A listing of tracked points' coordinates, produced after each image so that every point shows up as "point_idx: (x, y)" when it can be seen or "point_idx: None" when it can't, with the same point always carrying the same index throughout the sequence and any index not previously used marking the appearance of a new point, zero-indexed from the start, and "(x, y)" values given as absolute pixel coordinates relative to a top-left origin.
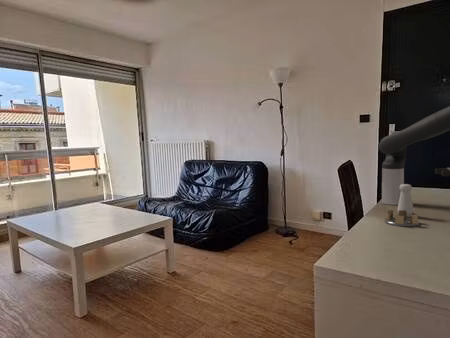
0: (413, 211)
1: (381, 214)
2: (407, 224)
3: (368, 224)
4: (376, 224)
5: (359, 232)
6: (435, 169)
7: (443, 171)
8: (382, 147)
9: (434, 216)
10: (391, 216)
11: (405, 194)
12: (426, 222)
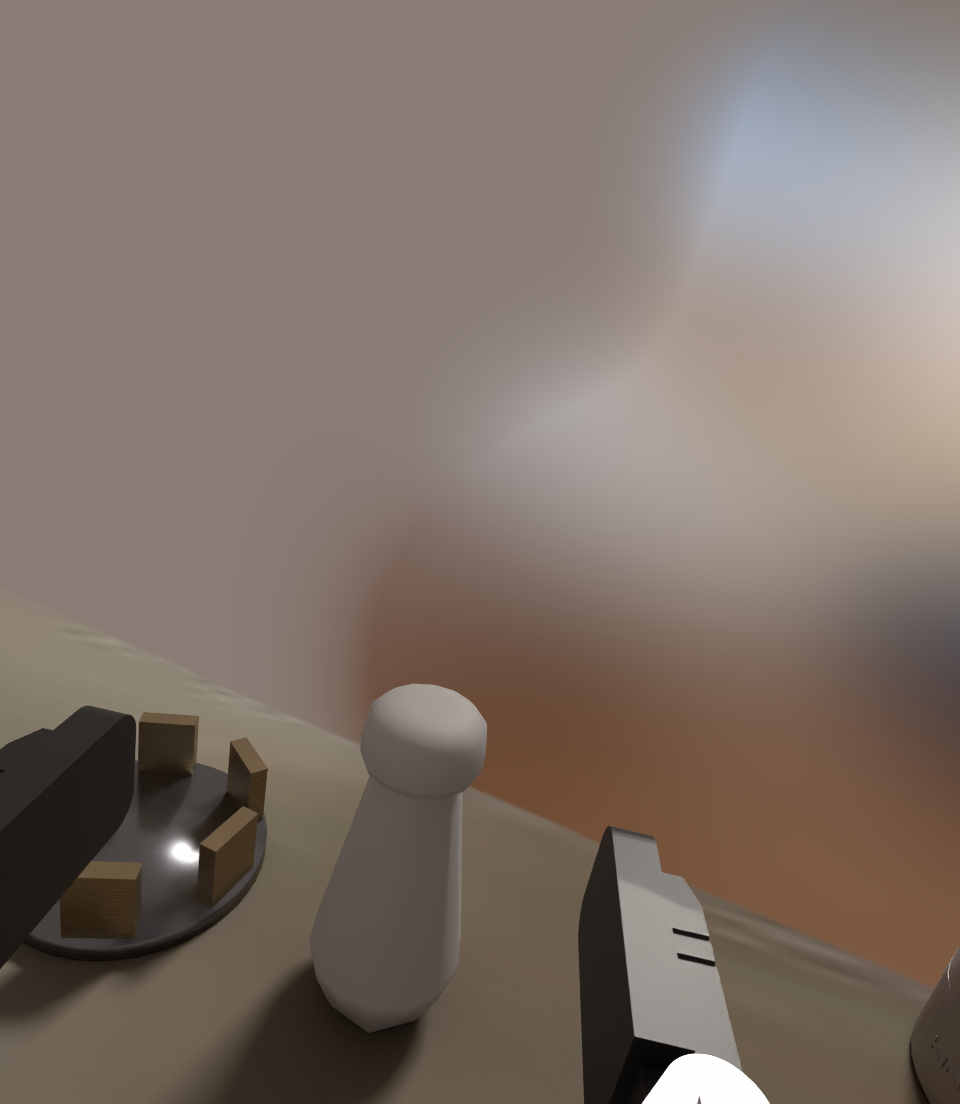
0: (334, 993)
1: None
2: None
3: (168, 697)
4: None
5: (30, 630)
6: (631, 837)
7: (88, 725)
8: None
9: None
10: (241, 802)
11: (368, 780)
12: (76, 1060)
